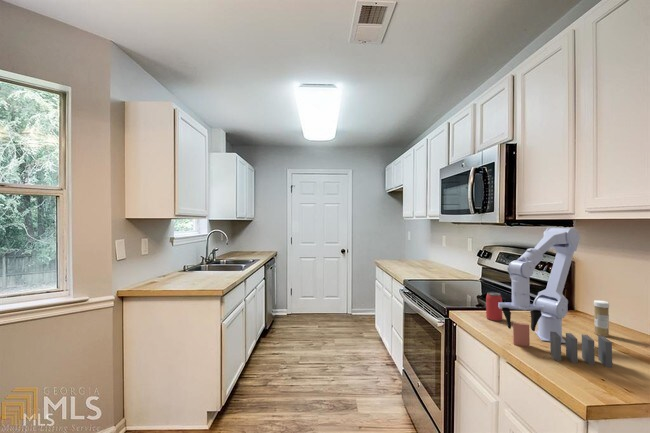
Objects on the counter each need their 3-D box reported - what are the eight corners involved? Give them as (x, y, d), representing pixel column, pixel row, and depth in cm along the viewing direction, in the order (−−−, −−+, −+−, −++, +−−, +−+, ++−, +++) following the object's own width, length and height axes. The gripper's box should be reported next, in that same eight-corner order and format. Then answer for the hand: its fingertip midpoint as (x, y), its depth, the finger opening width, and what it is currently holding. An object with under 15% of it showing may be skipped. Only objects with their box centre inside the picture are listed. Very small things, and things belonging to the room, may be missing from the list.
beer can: (499, 322, 140) (498, 296, 140) (484, 319, 145) (483, 293, 145) (504, 319, 144) (504, 293, 144) (489, 315, 149) (489, 290, 149)
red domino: (513, 343, 118) (512, 322, 118) (528, 344, 116) (528, 323, 116) (514, 344, 116) (513, 323, 116) (529, 346, 115) (529, 325, 115)
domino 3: (588, 364, 101) (588, 340, 101) (582, 357, 105) (581, 334, 105) (594, 365, 100) (594, 340, 100) (587, 358, 105) (587, 334, 105)
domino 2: (571, 362, 102) (571, 338, 102) (566, 355, 107) (565, 332, 107) (577, 363, 102) (577, 339, 102) (571, 356, 106) (571, 333, 106)
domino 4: (605, 366, 99) (605, 341, 99) (598, 359, 104) (598, 336, 104) (612, 367, 99) (611, 342, 98) (604, 360, 103) (604, 336, 103)
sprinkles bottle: (594, 331, 127) (594, 299, 127) (609, 334, 124) (609, 301, 124) (593, 335, 124) (593, 301, 124) (609, 338, 121) (609, 303, 120)
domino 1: (555, 360, 104) (555, 336, 104) (550, 354, 109) (550, 331, 108) (561, 361, 103) (560, 337, 103) (555, 354, 108) (555, 331, 108)
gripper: (500, 294, 115) (500, 330, 115) (546, 297, 110) (547, 335, 110) (497, 289, 122) (497, 324, 122) (540, 292, 116) (541, 328, 117)
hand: (520, 328), depth 116 cm, fingers open, 7 cm apart
